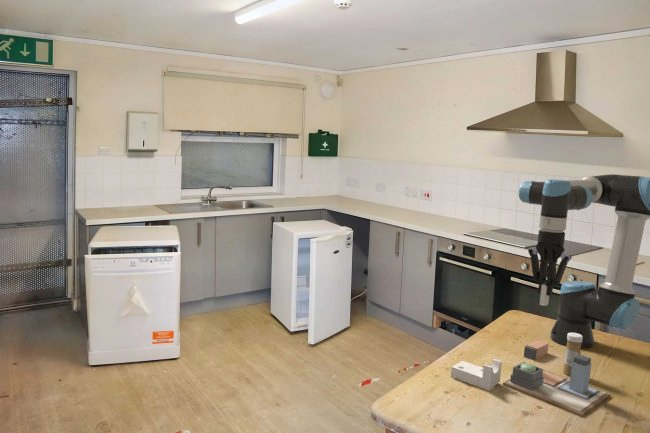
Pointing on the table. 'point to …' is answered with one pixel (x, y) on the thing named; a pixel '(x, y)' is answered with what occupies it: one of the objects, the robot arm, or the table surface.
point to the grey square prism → (580, 373)
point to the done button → (528, 367)
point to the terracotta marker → (536, 349)
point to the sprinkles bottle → (572, 350)
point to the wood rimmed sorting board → (563, 394)
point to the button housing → (527, 377)
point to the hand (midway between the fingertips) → (543, 304)
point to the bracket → (478, 374)
